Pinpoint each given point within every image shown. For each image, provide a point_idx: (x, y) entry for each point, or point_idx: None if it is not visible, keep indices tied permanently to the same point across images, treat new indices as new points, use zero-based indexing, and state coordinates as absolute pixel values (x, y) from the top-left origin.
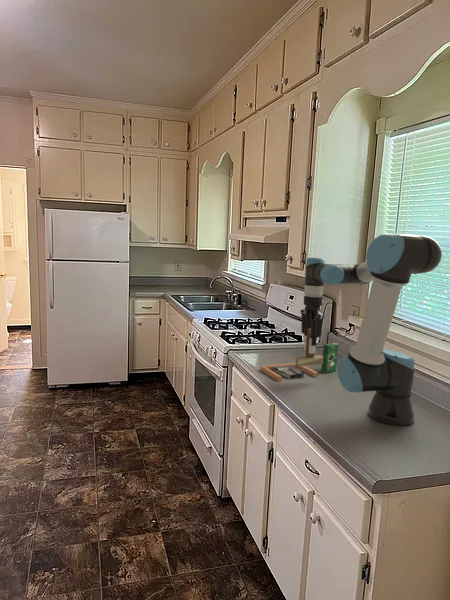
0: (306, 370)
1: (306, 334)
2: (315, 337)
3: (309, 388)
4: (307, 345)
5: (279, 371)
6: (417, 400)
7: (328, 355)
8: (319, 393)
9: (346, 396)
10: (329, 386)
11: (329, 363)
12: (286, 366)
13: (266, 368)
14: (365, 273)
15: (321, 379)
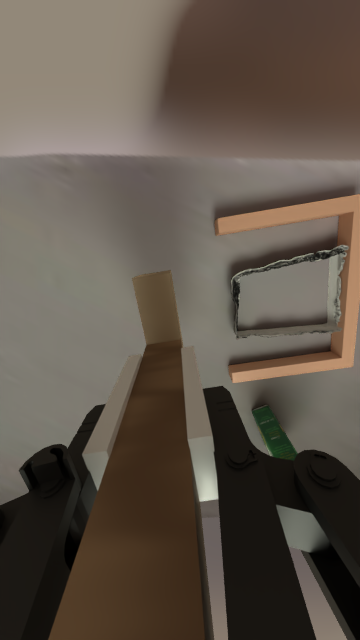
0: (277, 363)
1: (218, 469)
2: (8, 504)
3: (134, 304)
4: (165, 381)
5: (297, 261)
6: None
7: None
8: (90, 315)
9: (65, 377)
10: None
11: (267, 446)
12: (338, 312)
13: (332, 206)
14: None
15: (206, 376)
